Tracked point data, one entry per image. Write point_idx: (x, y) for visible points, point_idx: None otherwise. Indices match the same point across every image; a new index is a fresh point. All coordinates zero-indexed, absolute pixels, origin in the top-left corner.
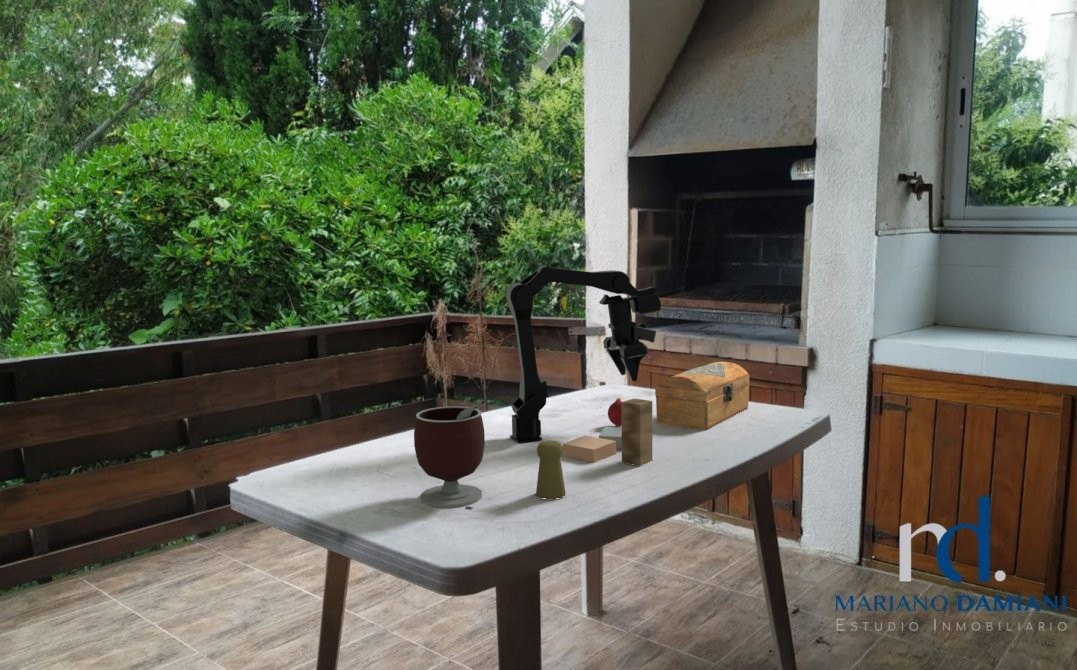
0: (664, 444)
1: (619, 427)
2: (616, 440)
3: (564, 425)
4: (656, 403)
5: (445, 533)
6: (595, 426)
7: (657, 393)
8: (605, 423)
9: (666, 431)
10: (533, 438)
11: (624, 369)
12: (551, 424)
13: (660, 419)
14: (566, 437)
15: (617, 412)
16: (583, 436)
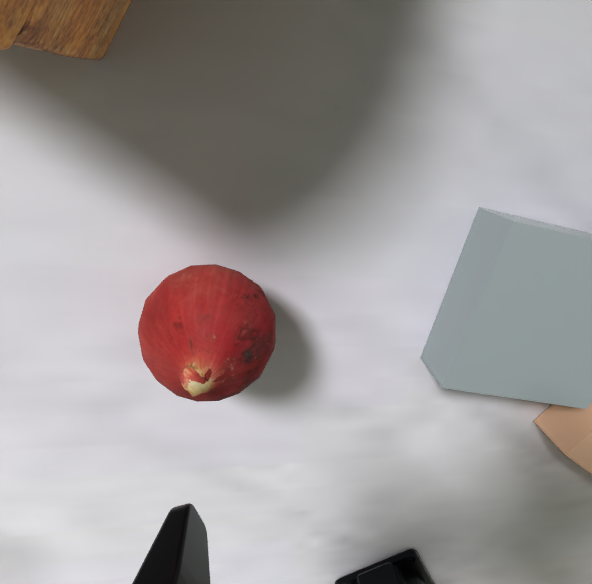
0: (582, 91)
1: (468, 325)
2: None
3: None
4: (45, 48)
5: None
6: None
7: (7, 22)
8: (139, 356)
9: (320, 30)
10: (418, 574)
11: (187, 577)
12: None
13: (107, 34)
14: (382, 485)
15: (273, 348)
16: (579, 460)
